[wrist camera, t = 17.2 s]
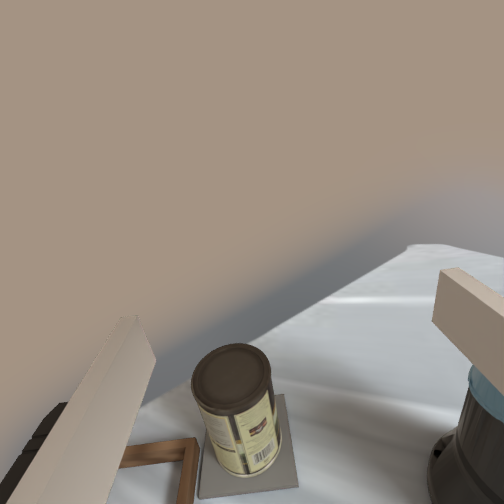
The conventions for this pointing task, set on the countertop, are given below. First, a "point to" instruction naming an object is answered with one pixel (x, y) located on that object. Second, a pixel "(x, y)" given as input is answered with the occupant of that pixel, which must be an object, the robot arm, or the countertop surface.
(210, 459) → the mat
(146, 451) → the brown wooden square frame
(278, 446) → the coffee can
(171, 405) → the countertop surface
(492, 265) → the countertop surface
